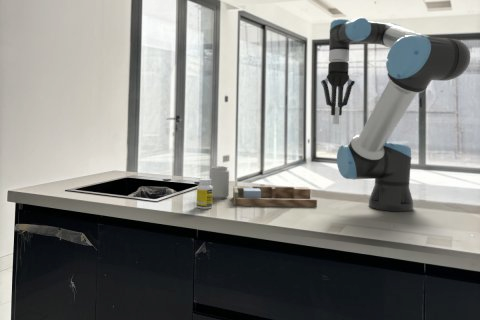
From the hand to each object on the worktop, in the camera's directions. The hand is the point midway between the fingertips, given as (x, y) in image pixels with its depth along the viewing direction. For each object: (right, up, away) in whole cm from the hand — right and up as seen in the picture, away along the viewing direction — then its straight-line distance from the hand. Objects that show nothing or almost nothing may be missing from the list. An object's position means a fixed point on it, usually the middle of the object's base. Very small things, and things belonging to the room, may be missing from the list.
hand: (335, 124), depth 163 cm
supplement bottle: (-49, -30, -19) cm, 61 cm away
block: (-33, -30, -9) cm, 45 cm away
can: (-45, -29, 0) cm, 54 cm away
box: (-25, -30, -6) cm, 39 cm away
